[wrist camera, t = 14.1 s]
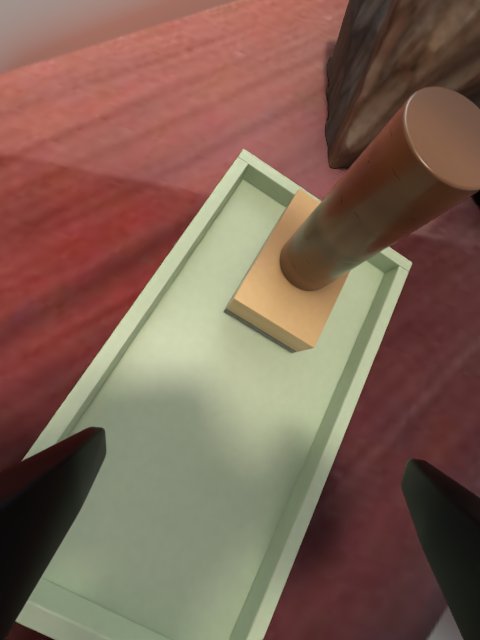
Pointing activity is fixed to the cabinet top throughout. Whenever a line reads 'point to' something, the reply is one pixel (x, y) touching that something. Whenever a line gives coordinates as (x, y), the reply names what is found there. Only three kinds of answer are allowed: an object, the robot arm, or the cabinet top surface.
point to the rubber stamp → (361, 216)
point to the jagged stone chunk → (396, 65)
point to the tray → (206, 437)
